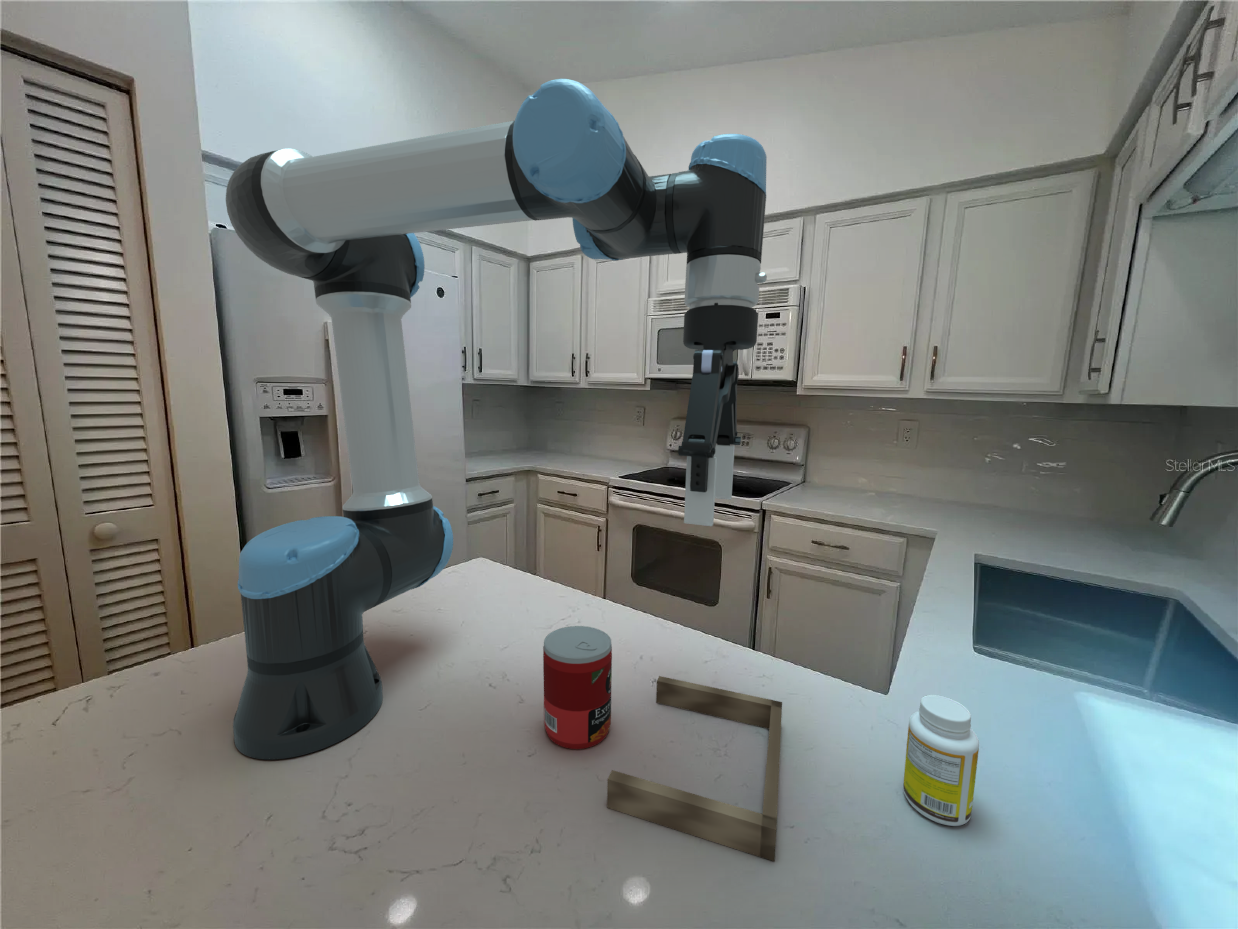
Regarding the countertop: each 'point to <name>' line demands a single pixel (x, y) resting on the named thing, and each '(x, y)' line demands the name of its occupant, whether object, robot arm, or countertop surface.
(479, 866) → the countertop surface
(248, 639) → the robot arm
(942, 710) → the supplement bottle
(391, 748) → the countertop surface
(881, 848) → the countertop surface
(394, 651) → the countertop surface
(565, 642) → the canned food
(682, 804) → the bay
